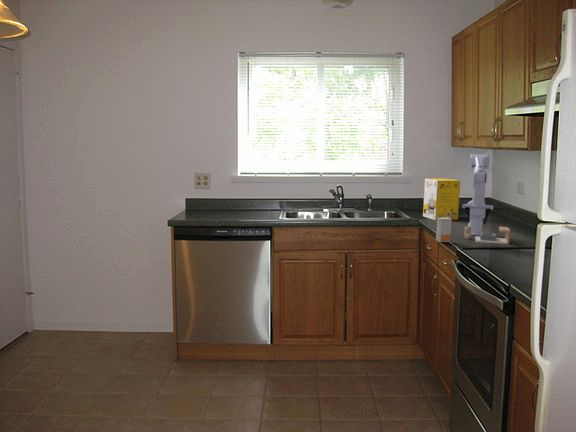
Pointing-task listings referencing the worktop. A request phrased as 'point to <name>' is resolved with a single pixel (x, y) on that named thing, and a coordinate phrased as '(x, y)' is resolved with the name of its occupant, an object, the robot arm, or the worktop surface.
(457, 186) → the packaging box
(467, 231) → the peg
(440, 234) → the skincare box
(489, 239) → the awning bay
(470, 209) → the robot arm
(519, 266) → the worktop surface
